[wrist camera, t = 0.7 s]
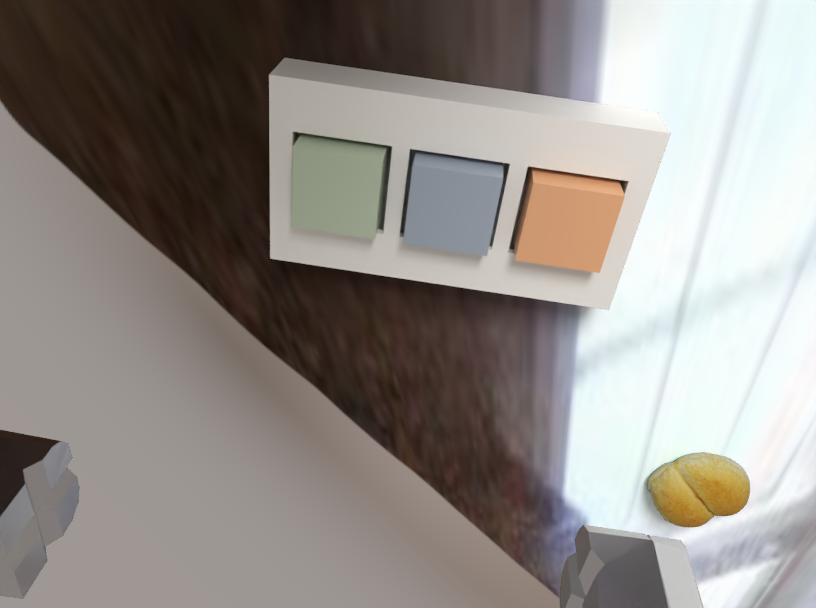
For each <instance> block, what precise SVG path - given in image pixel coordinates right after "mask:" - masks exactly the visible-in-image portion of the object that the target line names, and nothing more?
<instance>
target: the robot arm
mask: <svg viewBox="0 0 816 608" xmlns="http://www.w3.org/2000/svg"><path fill="white" fill-rule="evenodd" d="M72 458H73V457H72V454H71V450H70V447H69V444H68V443H66V442H62V441H57V440H51V439H46V438H41V437H35V436H30V435H24V434H19V433H14V432H9V431H4V430H0V596H6V597H14V598H21V599H23V598H24V596H25V595H26V594H27V592H28V590H29V589H30V587H31V586H32V584H33V582H34V580H35V579H36V578H37V576H38V574H39V573H40V571H41V570H42V568H43V567H44V565H45V563H46V562H47V555H46V548H45V546H47V545H49V544H50V543H52V542H54V541H55V540H57V539H58V538H60V537H62V536H63V535H64V533H65V531H66V530H67V528H68V526H69V525H70V523H71V521H72V519H73V516H74V513H75V510H76V508H77V504H78V501H79V484H78V480H77V477H76V476H75V475H74V474H73V473H72V472H71V471H70V470H69V469H68V468H67V465H68V464H69V463H70V461H71V460H72ZM575 546H576V553H574V554H572V555H570V556H569V557H567V560H566V563H565V565H564V568H563V571H562V577H561V584H560V608H703V604H702V601H701V598H700V594H699V591H698V587H697V584H696V580H695V577H694V573H693V570H692V566H691V563H690V560H689V556H688V553H687V549H686V546H685V545H684V544H683V542H682V541H681V540H675V539H669V538H663V537H657V536H651V535H645V534H642V533H635V532H629V531H622V530H615V529H608V528H602V527H595V526H588V525H583V526H582V527H581V528H580V529H579V531H578V533H577V535H576V538H575Z"/></svg>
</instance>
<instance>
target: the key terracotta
mask: <svg viewBox="0 0 816 608" xmlns="http://www.w3.org/2000/svg"><path fill="white" fill-rule="evenodd" d="M624 198H625V195H624V192H623V189H622V187H621V184H620V181H619V180H617V179H610V178H604V177H597V176H590V175H583V174H577V173H570V172H563V171H556V170H549V169H543V168H536V167H531V169H530V173H529V178H528V182H527V186H526V190H525V195H524V199H523V203H522V208H521V212H520V216H519V220H518V225H517V229H516V233H515V238H514V248H515V260H516V261H523V262H530V263H536V264H543V265H549V266H556V267H563V268H569V269H576V270H583V271H589V272H596V273H600V271H601V268H602V264H603V261H604V258H605V255H606V252H607V249H608V246H609V243H610V240H611V237H612V234H613V231H614V228H615V225H616V222H617V219H618V216H619V213H620V210H621V207H622V204H623V201H624Z"/></svg>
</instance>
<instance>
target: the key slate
mask: <svg viewBox="0 0 816 608" xmlns="http://www.w3.org/2000/svg"><path fill="white" fill-rule="evenodd" d="M502 182H503V163H502V162H495V161H489V160H482V159H475V158H468V157H461V156H455V155H448V154H441V153H434V152H428V151H421V150H416V154H415V158H414V162H413V167H412V175H411V183H410V191H409V199H408V207H407V215H406V223H405V231H404V239H403V244H410V245H417V246H423V247H430V248H437V249H443V250H450V251H456V252H463V253H470V254H476V255H483V256H487V254H488V249H489V244H490V239H491V235H492V230H493V225H494V220H495V216H496V211H497V206H498V201H499V197H500V192H501V187H502Z"/></svg>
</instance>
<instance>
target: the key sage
mask: <svg viewBox="0 0 816 608" xmlns="http://www.w3.org/2000/svg"><path fill="white" fill-rule="evenodd" d="M387 153H388V146H387V145H380V144H373V143H367V142H360V141H353V140H346V139H340V138H333V137H326V136H319V135H312V134H306V133H301V135H300V136H299V138H298V140H297V141H296V143H295V144H294V146H293V163H292V227H297V228H304V229H310V230H317V231H324V232H330V233H337V234H344V235H350V236H357V237H363V238H370V239H375V238H376V234H377V231H378V227H379V224H380V220H381V213H382V203H383V193H384V183H385V173H386V163H387Z"/></svg>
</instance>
